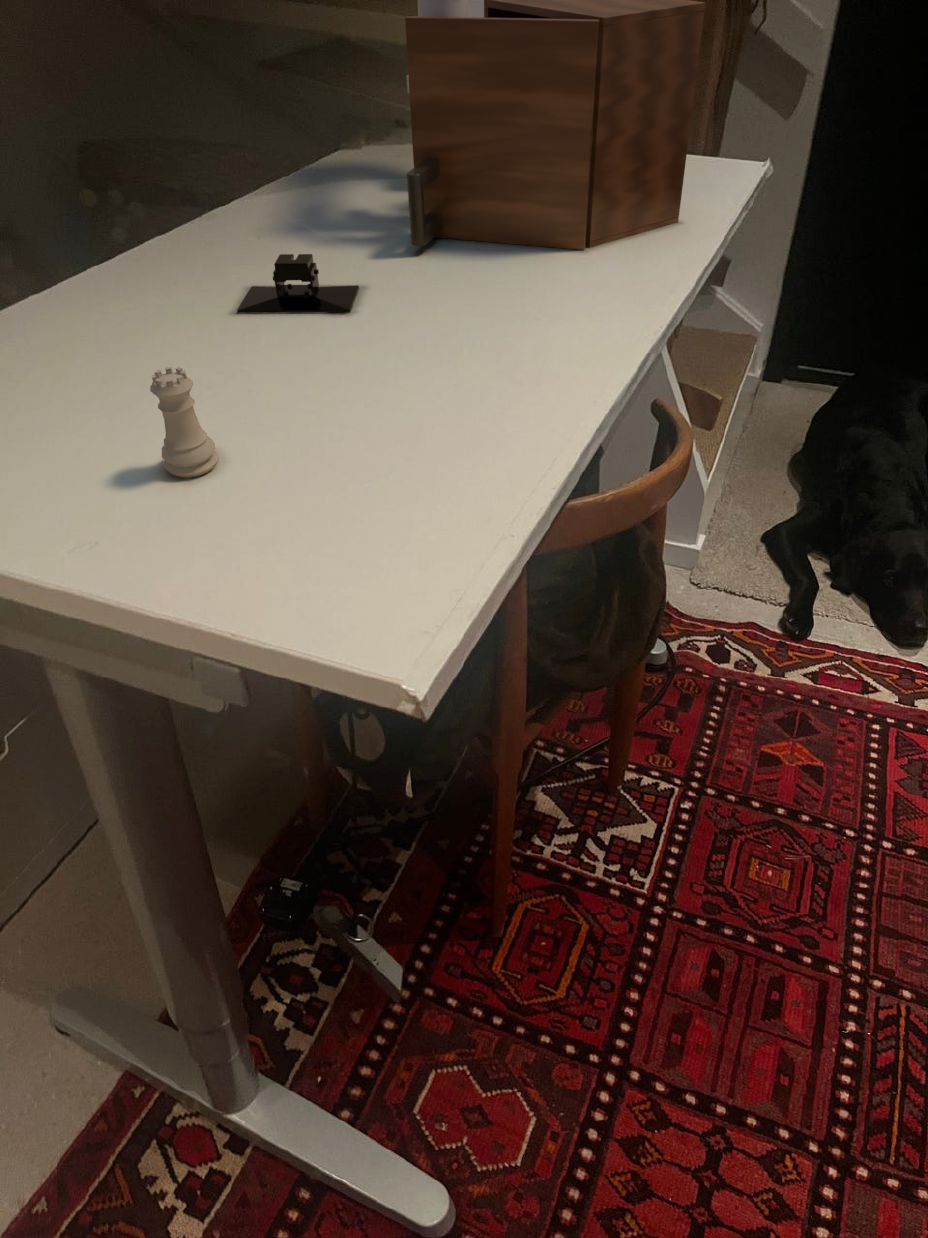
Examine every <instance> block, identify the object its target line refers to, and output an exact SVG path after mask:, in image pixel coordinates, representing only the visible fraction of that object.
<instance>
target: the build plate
mask: <svg viewBox="0 0 928 1238" xmlns="http://www.w3.org/2000/svg"><path fill="white" fill-rule="evenodd" d="M273 265H274V270H273V273H272V274H273V276H272V281H273V282H274V285H252V286H251V287H250V288H249V290H248V291H247V293H246V295H245V296H244V298H243V299H242V301H241V302H240V304H239V306H238V308H237V309H236V311H237V314H329V315H345V314H349V313H351V312H352V309H353V307H354V304H355V301H356V299H357V296H358V293H359V291H360V285H356V284H355V285H348V284H346V285H343V284H341V285H320V283H319V273H320V272H319V269H318V267H317V262H314V256H313V253H299V254H298V255H297V256H296V258H295V254H293V253H290V254H289V253H285V254H283V253H281V254H279V255H278V256H277V258H276V260H275V262H274V264H273ZM287 281H301V282H302V283H307V284H292V283H287V284H285V283H286V282H287Z"/></svg>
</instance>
